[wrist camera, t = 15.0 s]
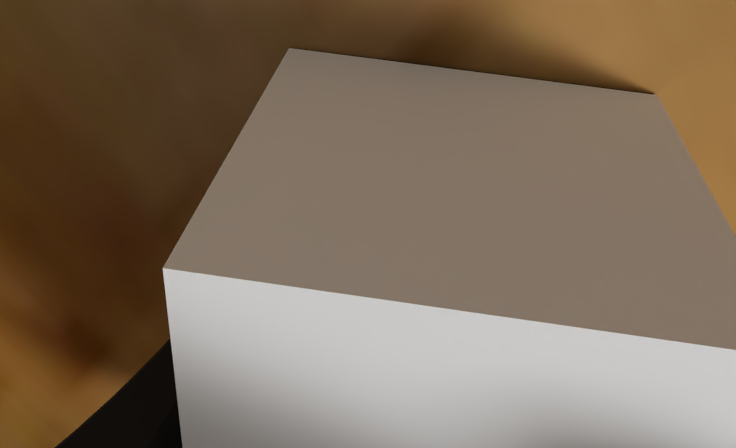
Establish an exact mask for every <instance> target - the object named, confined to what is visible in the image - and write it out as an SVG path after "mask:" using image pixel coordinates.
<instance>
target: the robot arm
mask: <svg viewBox="0 0 736 448" xmlns="http://www.w3.org/2000/svg"><path fill="white" fill-rule="evenodd" d="M55 448H183V447H182V438H181V429H180V420H179V411H178V402H177V393H176V384H175V375H174V366H173V357H172V348H171V339H169V340H168V341H167V342H166V343H165V344H164V345H163V347H162V348H161V349H160V350H159V351H158V352H157V353H156V354H155V355H154V356H153V357H152V358H151V359H150V360H149V361H148V362H147V363H146V364H145V365H144V366H143V367H142V368H141V369H140V370H139V371H138V372H137V373H136V374H135V375H134V376H133V377H132V378H131V379H130V380H129V381H128V382H127V383H126V384H125V385H124V386H123V387H122V388H121V389H120V390H119V391H118V392H117V393H116V394H115V395H114V396H113V397H112V398H111V399H110V400H109V401H107V402H106V403H105V404H104V405H103V406H102V407H101V408H100V409H99V410H97V411H96V412H95V413H94V414H93V415H92V416H91V417H90V418H89V419H87V420H86V421H85V422H84V423H83V424H82V425H81V426H80V427H79V428H77V429H76V430H75V431H74V432H73V433H72V434H70V435H69V436H68V437H67V438H66V439H65V440H63V441H62V442H61V443H60V444H59V445H57V446H56V447H55Z"/></svg>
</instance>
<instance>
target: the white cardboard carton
mask: <svg viewBox="0 0 736 448" xmlns="http://www.w3.org/2000/svg"><path fill="white" fill-rule="evenodd" d="M163 276H164V285H165V294H166V303H167V312H168V321H169V330H170V339H171V348H172V357H173V366H174V375H175V384H176V393H177V402H178V411H179V420H180V429H181V438H182V447H183V448H736V236H735V235H734V233H733V231H732V229H731V227H730V226H729V224H728V222H727V220H726V218H725V217H724V215H723V213H722V211H721V209H720V207H719V206H718V204H717V202H716V200H715V198H714V197H713V195H712V193H711V191H710V189H709V188H708V186H707V184H706V182H705V180H704V178H703V177H702V175H701V173H700V171H699V169H698V168H697V166H696V164H695V162H694V160H693V159H692V157H691V155H690V153H689V151H688V149H687V148H686V146H685V144H684V142H683V140H682V139H681V137H680V135H679V133H678V131H677V130H676V128H675V126H674V124H673V122H672V121H671V119H670V117H669V115H668V113H667V111H666V110H665V108H664V106H663V104H662V102H661V101H660V99H659V97H658V95H652V94H645V93H637V92H629V91H621V90H613V89H606V88H598V87H590V86H582V85H574V84H566V83H559V82H551V81H543V80H535V79H527V78H520V77H512V76H504V75H496V74H488V73H481V72H473V71H465V70H457V69H449V68H442V67H434V66H426V65H418V64H410V63H403V62H395V61H387V60H379V59H371V58H363V57H356V56H348V55H340V54H332V53H324V52H317V51H309V50H301V49H293V48H289V49H288V51H287V52H286V54H285V56H284V58H283V59H282V61H281V63H280V65H279V66H278V68H277V70H276V71H275V73H274V75H273V77H272V78H271V80H270V82H269V84H268V85H267V87H266V89H265V91H264V92H263V94H262V96H261V98H260V99H259V101H258V103H257V105H256V106H255V108H254V110H253V112H252V113H251V115H250V117H249V119H248V120H247V122H246V124H245V125H244V127H243V129H242V131H241V132H240V134H239V136H238V138H237V139H236V141H235V143H234V145H233V146H232V148H231V150H230V152H229V153H228V155H227V157H226V159H225V160H224V162H223V164H222V166H221V167H220V169H219V171H218V173H217V174H216V176H215V178H214V180H213V181H212V183H211V185H210V186H209V188H208V190H207V192H206V193H205V195H204V197H203V199H202V200H201V202H200V204H199V206H198V207H197V209H196V211H195V213H194V214H193V216H192V218H191V220H190V221H189V223H188V225H187V227H186V228H185V230H184V232H183V234H182V235H181V237H180V239H179V240H178V242H177V244H176V246H175V247H174V249H173V251H172V253H171V254H170V256H169V258H168V260H167V261H166V263H165V265H164V267H163Z"/></svg>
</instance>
